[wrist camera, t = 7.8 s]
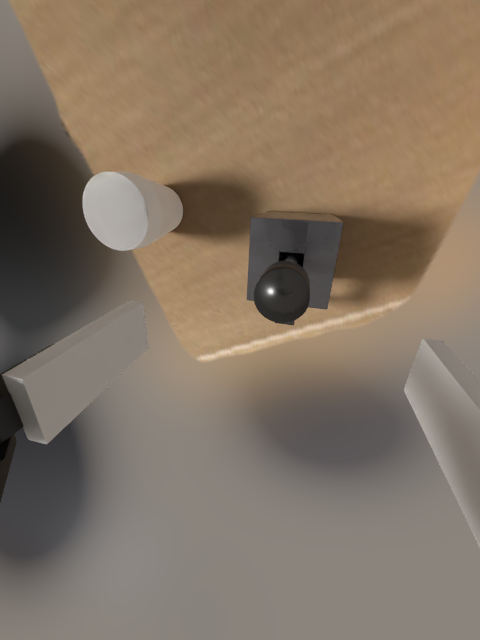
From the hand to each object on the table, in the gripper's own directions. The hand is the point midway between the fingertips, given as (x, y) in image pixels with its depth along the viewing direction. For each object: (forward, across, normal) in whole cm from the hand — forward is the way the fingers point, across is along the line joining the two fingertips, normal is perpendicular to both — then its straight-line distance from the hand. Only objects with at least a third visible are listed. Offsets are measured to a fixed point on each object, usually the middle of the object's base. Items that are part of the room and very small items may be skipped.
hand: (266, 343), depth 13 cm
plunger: (+27, 0, 0) cm, 28 cm away
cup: (+31, -21, +4) cm, 37 cm away
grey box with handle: (+30, 0, -2) cm, 30 cm away
